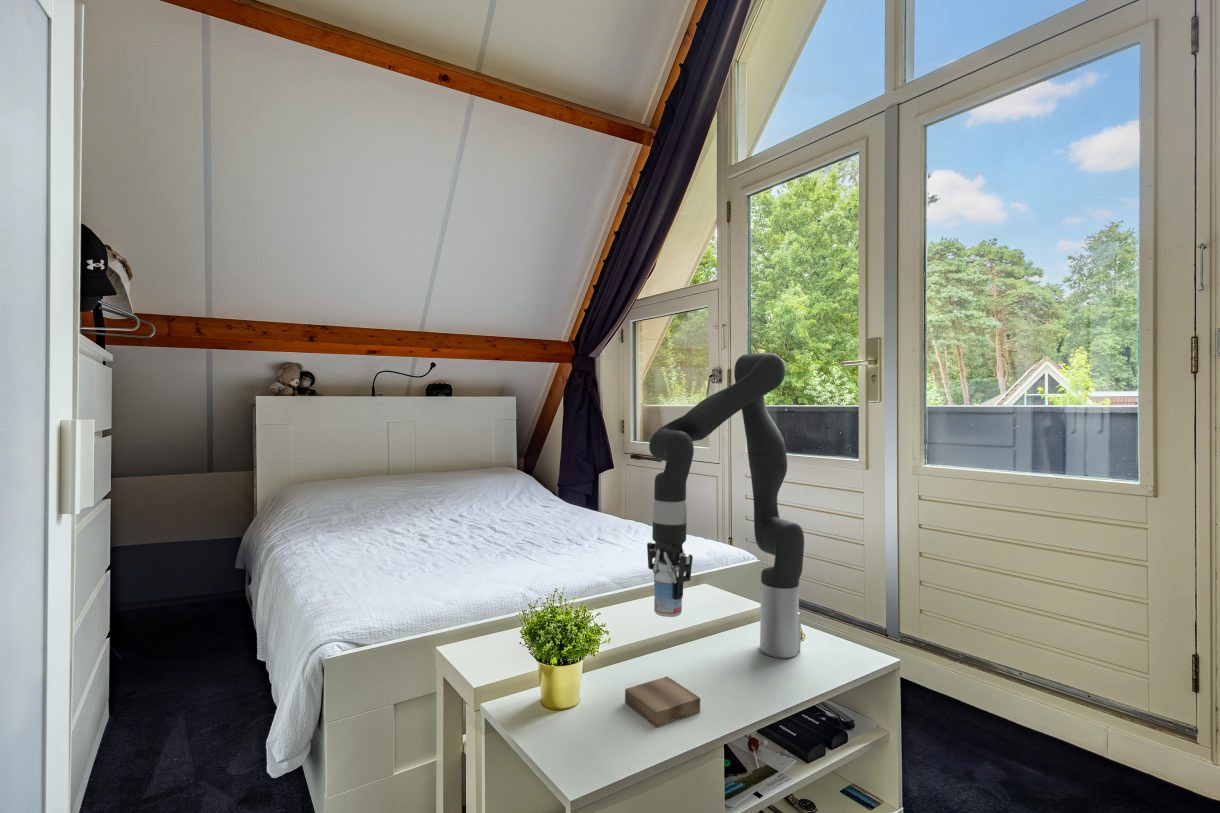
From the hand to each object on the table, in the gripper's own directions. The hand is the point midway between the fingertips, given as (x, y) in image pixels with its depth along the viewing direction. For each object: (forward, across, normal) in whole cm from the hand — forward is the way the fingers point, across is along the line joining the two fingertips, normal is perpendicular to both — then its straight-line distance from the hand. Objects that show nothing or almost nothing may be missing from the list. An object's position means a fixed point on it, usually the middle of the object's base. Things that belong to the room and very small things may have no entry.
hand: (668, 594), depth 137 cm
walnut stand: (+20, -8, +7) cm, 23 cm away
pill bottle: (+4, 0, 0) cm, 4 cm away
